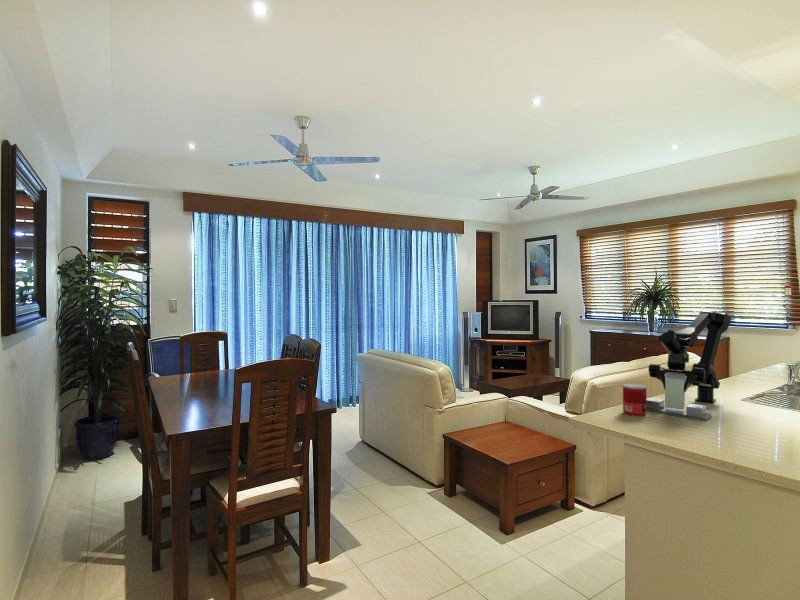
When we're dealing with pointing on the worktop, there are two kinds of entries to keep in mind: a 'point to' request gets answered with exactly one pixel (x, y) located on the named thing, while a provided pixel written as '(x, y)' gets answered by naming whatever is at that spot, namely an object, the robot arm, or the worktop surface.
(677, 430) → the worktop surface
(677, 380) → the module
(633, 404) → the canned food
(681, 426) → the worktop surface
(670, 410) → the rail
